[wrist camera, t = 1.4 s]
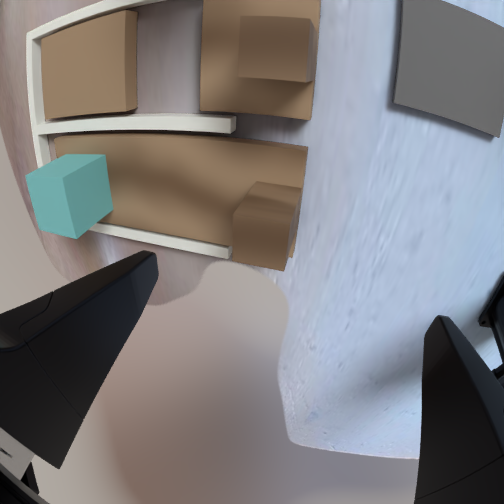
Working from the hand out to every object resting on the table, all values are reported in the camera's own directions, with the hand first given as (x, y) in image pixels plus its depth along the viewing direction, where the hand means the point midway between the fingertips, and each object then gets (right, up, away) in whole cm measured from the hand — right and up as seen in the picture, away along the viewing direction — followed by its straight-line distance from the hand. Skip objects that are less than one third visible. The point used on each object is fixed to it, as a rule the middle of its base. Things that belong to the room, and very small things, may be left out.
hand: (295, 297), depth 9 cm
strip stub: (-1, +14, +7) cm, 15 cm away
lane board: (-12, +12, +13) cm, 21 cm away
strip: (-8, +7, +14) cm, 18 cm away
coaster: (+12, +13, +4) cm, 18 cm away
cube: (-15, +8, +15) cm, 23 cm away
